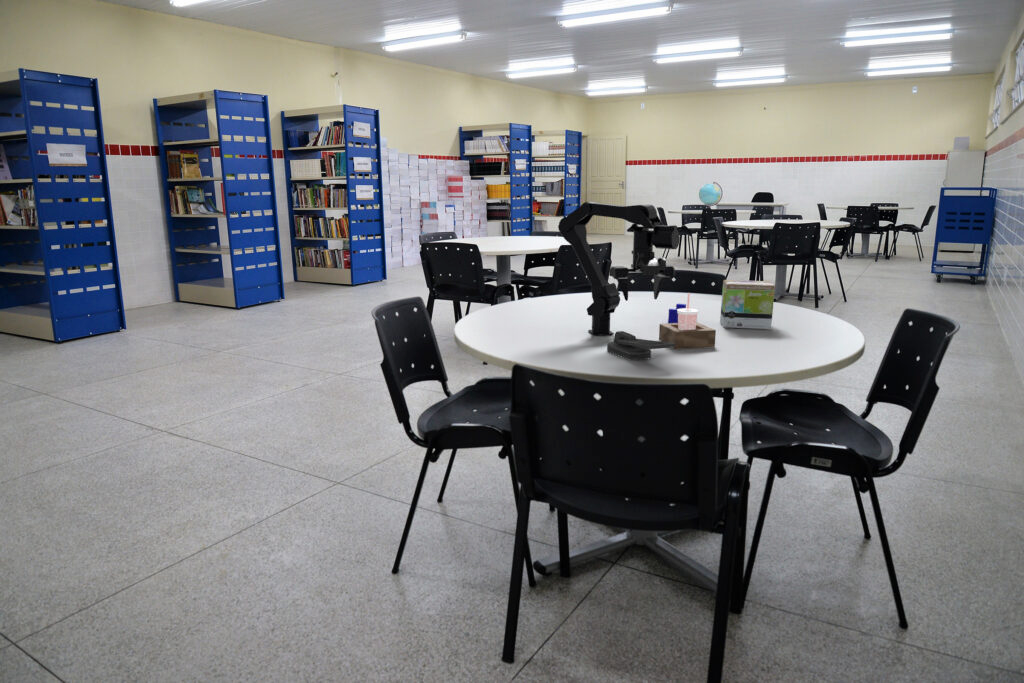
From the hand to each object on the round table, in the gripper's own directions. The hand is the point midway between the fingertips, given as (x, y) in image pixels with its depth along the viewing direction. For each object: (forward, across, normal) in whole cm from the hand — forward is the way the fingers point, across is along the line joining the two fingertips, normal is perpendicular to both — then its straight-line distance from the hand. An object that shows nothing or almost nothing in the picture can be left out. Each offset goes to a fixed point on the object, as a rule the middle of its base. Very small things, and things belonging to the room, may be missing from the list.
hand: (641, 299), depth 203 cm
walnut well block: (+12, +11, -9) cm, 19 cm away
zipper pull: (+12, -9, -22) cm, 27 cm away
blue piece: (+12, +20, +20) cm, 31 cm away
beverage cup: (+11, +11, -9) cm, 18 cm away
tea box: (+12, +41, +10) cm, 44 cm away
